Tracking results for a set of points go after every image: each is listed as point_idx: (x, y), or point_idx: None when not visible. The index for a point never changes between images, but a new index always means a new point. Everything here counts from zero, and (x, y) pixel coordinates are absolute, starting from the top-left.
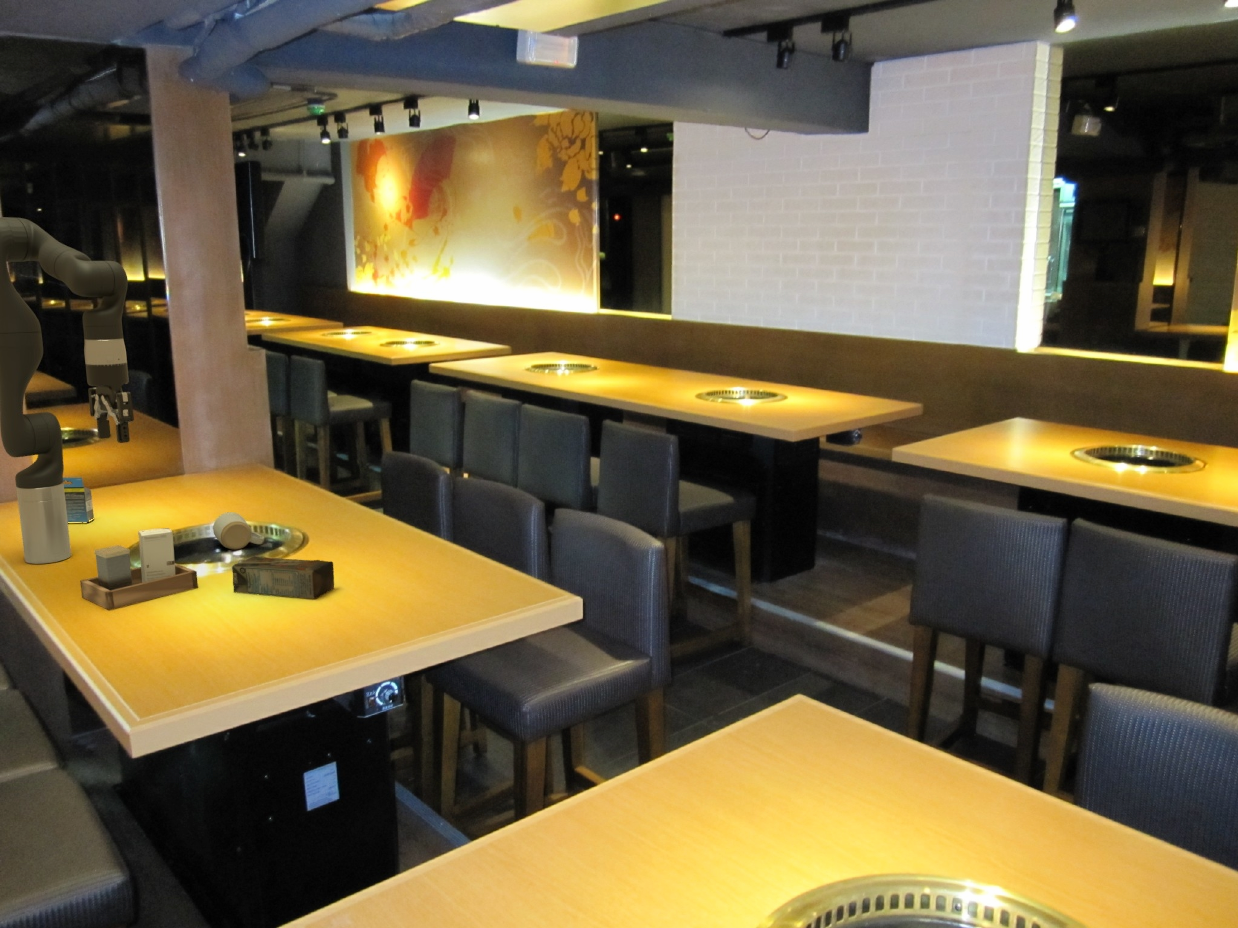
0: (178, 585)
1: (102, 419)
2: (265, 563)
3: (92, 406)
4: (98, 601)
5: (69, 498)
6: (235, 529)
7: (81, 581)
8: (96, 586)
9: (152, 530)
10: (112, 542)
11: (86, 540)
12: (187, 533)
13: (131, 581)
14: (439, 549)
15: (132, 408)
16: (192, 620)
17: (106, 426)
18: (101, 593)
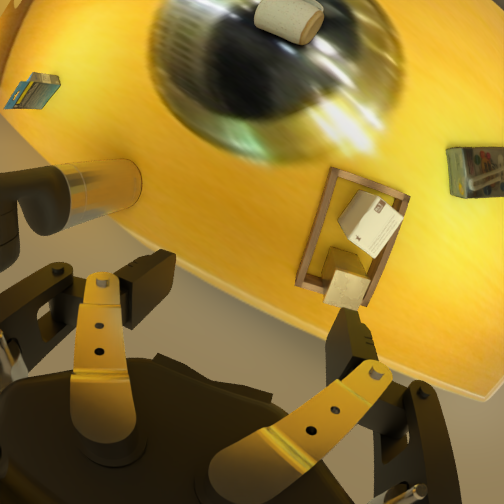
0: None
1: (123, 311)
2: (495, 182)
3: (50, 348)
4: None
5: (30, 94)
6: (314, 25)
7: (298, 286)
8: None
9: (370, 228)
10: (127, 100)
11: (98, 115)
12: (177, 25)
13: (360, 262)
14: (496, 11)
15: (449, 439)
16: (459, 285)
17: (149, 283)
18: None
